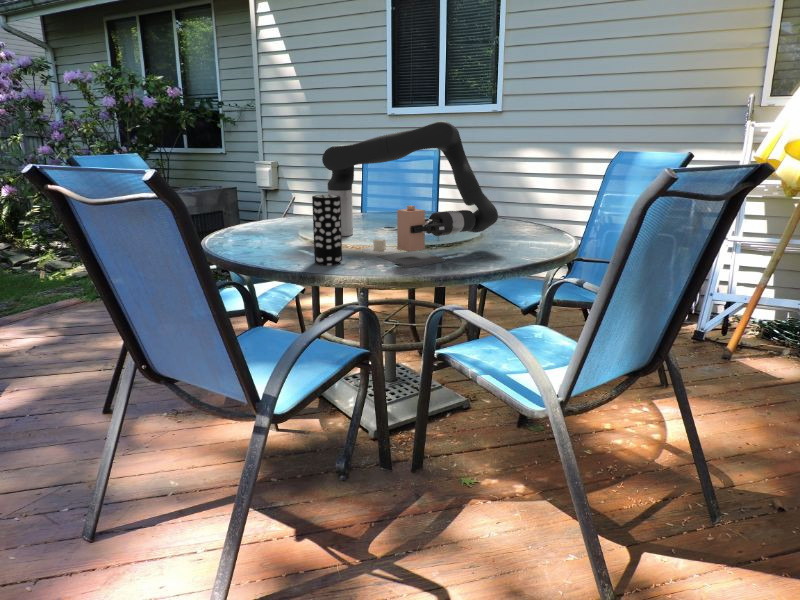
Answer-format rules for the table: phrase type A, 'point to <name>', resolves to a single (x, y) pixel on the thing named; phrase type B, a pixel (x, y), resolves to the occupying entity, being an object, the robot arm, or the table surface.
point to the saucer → (371, 250)
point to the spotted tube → (327, 229)
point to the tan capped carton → (404, 224)
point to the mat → (412, 259)
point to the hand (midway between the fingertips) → (404, 228)
